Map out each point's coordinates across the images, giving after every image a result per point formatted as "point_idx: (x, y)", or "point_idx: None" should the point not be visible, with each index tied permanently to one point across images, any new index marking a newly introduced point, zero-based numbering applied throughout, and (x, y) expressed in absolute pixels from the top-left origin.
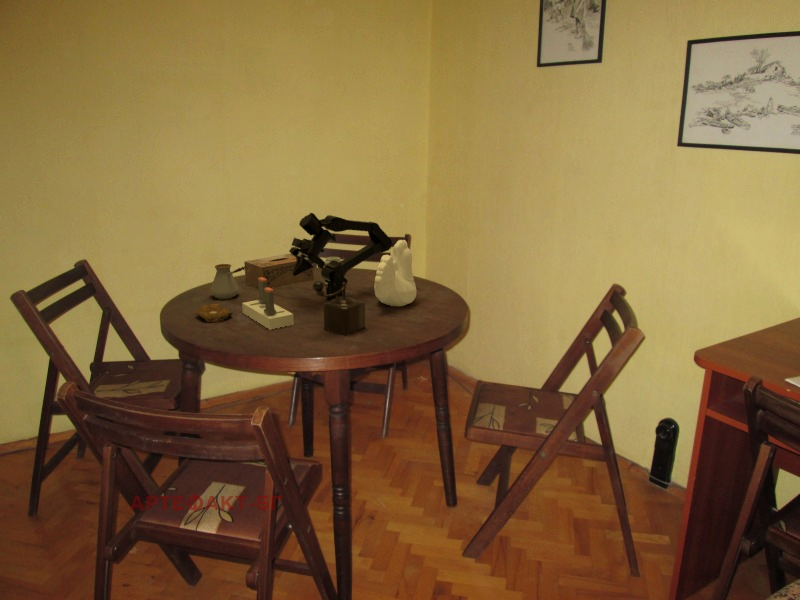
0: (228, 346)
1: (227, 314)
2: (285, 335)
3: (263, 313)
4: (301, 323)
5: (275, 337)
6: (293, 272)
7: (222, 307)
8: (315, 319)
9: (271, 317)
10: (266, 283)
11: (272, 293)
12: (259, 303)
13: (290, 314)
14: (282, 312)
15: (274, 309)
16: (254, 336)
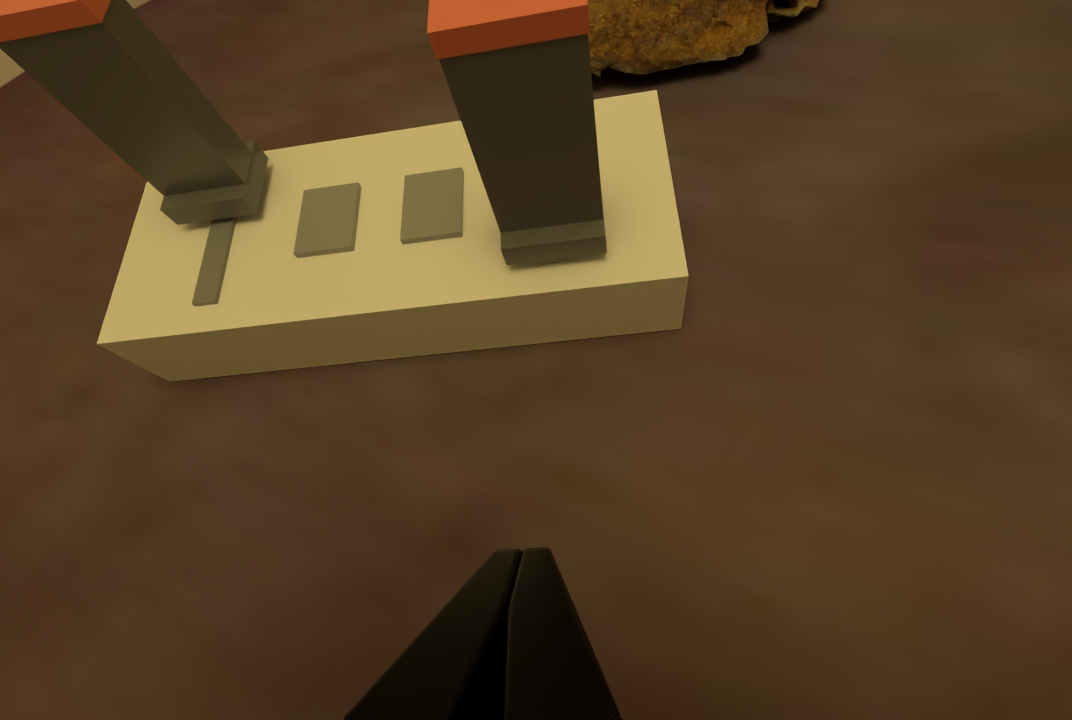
0: (171, 23)
1: None
2: (65, 271)
3: (283, 164)
4: (153, 446)
5: (88, 217)
6: (517, 572)
7: (705, 6)
8: (138, 596)
9: None
10: (451, 86)
11: (17, 52)
12: None
13: (107, 322)
14: (196, 285)
15: (295, 249)
16: None
